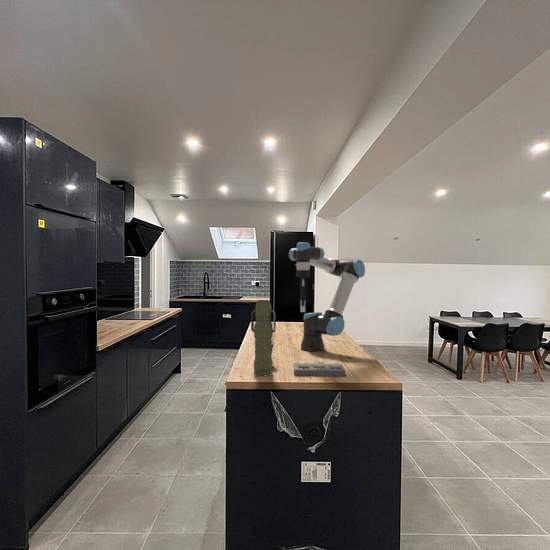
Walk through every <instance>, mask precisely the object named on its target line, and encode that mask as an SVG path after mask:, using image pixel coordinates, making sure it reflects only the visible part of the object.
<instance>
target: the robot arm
mask: <svg viewBox="0 0 550 550" xmlns="http://www.w3.org/2000/svg"><path fill="white" fill-rule="evenodd" d="M288 258H289V259H290V261H296V263H295V264H294V265H295V266H296V277H297V278H300V279H299V282H298V283H299V288H300V298H299V302H300V303H299V304H300V307H299V308H300V313H304V314H303V320H302V321H303V322H302V323H303V337H302V341H301V344H300V349H301V350H303V351H306V352H320V351H324V350H325V349H326V348H325V347H326V346H325V343H324V339H323V335H327V336H331V337H336V336H340V335H341V334H342V333H343V331H344V329H345V327H346V326H345V320H344V315H343V313H344V312H345V308H346V305H347V303H348V300H349V298H350V296H351V293H352V290H353V287H354V286H355V283H358V281H359V279H360V278H363V277H364V276H365V274H366V266H365V264H364V262H363V260H361V259H356V258H354V259H333V258H326V257H325V250H324V248H322V247H320V246H311V243H310V242H307V241H305V242H303V241H300V242H297V243H296V247H294V248H290V250H289V252H288ZM311 266H313V267H315V268H318V269H320V270H324V271H325V272H326V273H327V274H330V275H333V276H336V277H339V278H341V279H340V282H339V283H338V287H337V288H336V291H335V293H334V297H333V299H332V301H331V304H330V305H329V308H328V309H326V310H325V312H324V314H323V313H322V311H318V312H308V313H307V312H306V300H307V297H306V289H307V282H308V281H307V280H306V278H310V277H311V275H310V273H311V271H310V269H311Z"/></svg>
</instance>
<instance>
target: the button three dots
mask: <svg viewBox="0 0 550 550" xmlns="http://www.w3.org/2000/svg"><path fill="white" fill-rule="evenodd" d="M313 364H314V367H316V368H323V367H324V364H325V362H323V361H318V360H317V361H313Z"/></svg>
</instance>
